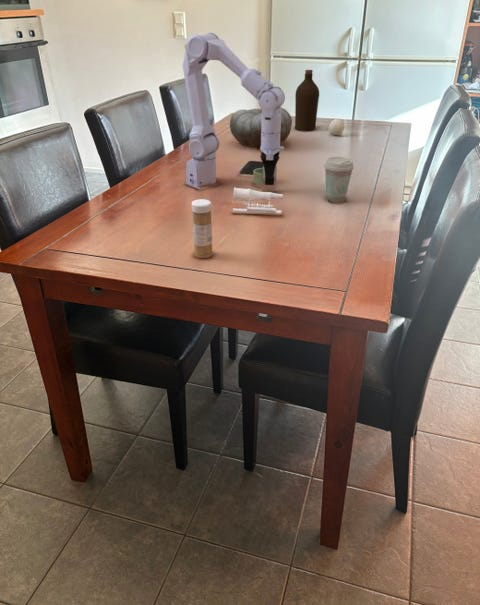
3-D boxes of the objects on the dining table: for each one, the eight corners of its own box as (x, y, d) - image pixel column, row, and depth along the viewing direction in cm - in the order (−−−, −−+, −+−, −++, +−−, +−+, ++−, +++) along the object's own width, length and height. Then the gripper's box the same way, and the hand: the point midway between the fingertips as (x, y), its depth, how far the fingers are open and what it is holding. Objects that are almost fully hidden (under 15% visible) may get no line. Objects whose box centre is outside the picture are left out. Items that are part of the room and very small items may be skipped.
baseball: (343, 133, 228) (344, 117, 225) (343, 137, 222) (345, 121, 218) (327, 132, 229) (329, 117, 225) (327, 136, 223) (329, 120, 219)
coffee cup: (328, 205, 151) (332, 165, 145) (317, 196, 158) (320, 157, 152) (354, 203, 153) (359, 163, 147) (342, 193, 160) (346, 155, 154)
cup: (262, 189, 164) (263, 175, 162) (249, 184, 168) (249, 170, 166) (277, 184, 168) (277, 171, 165) (263, 180, 172) (263, 166, 170)
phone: (269, 162, 186) (260, 174, 173) (269, 165, 186) (260, 177, 174) (248, 160, 187) (238, 172, 175) (248, 163, 188) (238, 175, 176)
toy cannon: (281, 219, 147) (281, 212, 142) (233, 217, 148) (231, 209, 143) (283, 194, 148) (283, 186, 143) (236, 192, 150) (234, 184, 145)
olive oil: (297, 132, 230) (301, 72, 217) (290, 127, 239) (293, 68, 226) (319, 131, 232) (324, 71, 219) (312, 125, 241) (316, 68, 228)
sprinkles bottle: (203, 249, 126) (201, 197, 119) (216, 254, 123) (215, 201, 116) (190, 255, 123) (187, 202, 116) (203, 261, 120) (200, 207, 113)
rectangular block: (275, 191, 159) (276, 167, 155) (262, 191, 159) (262, 167, 155) (275, 189, 160) (276, 165, 156) (262, 189, 160) (263, 165, 157)
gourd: (290, 147, 197) (285, 100, 190) (228, 155, 203) (221, 109, 196) (295, 138, 219) (291, 96, 212) (239, 146, 225) (233, 104, 218)
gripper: (284, 138, 144) (282, 185, 151) (284, 126, 156) (282, 170, 163) (259, 137, 144) (258, 184, 151) (261, 126, 157) (260, 169, 164)
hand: (269, 177), depth 157 cm, fingers closed on rectangular block, 2 cm apart
